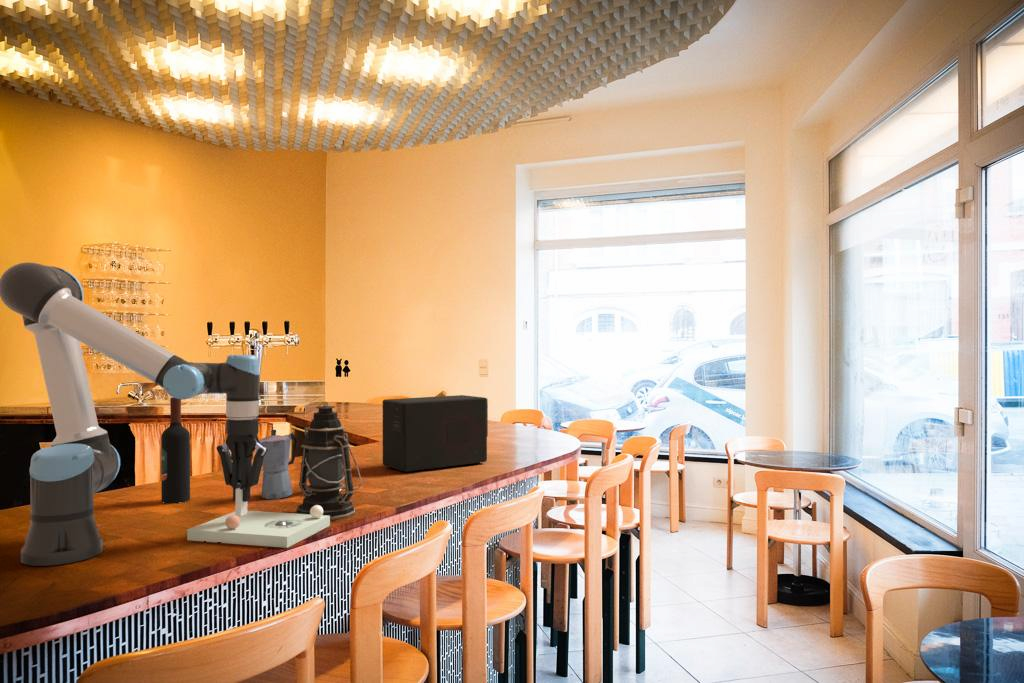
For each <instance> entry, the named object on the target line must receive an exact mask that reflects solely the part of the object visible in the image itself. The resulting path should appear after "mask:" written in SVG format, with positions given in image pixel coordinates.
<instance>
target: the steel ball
mask: <svg viewBox="0 0 1024 683" xmlns="http://www.w3.org/2000/svg"><path fill="white" fill-rule="evenodd" d="M275 526H288V525H287V523H286V522H284V521H278V522H277V523H276V524H275Z"/></svg>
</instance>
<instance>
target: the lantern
mask: <svg viewBox="0 0 1024 683" xmlns="http://www.w3.org/2000/svg"><path fill="white" fill-rule="evenodd" d="M335 408H336V406H334V405H329V403H328V402H327V401H325V402H324V403H323V405H320V406H316V407H315V409H318V411H317V412H313V419H312V420H311V422H310V424H309V426H307V427H304V429H303V430H304V437H305V438H304V439H303V441H302V445H300V448H302V456H301V462H300V465H301V466H300V474H299V483H298V486H299V488H300V490H301V492H302V495H303V499H302V503H301V504H299V505H297V507H296V513H295V514H310V510H311V508H312V507H313V506H315V505H319V506H321V507H322V508H323V515H326V516H330V521H336V520H341V519H346V518H348V517H351V516H353V515H355V514H356V508H355V503H354V502H352V501H350V500H351V498H352V497H353V494H354V493H355V491H357V490H358V491H359V489H361V487H362V485H363V481H362V476H361V474H360V469H359V467H358V464H357V462H356V459H355V456H354V455H353V451H352V449H351V443H349V438H348V437H349V436H348V434H347V433H344V430H345V429H346V430H347V429H348V427H346V426H343V425H342V424H341V420H340V419H339V418H338V412H337V411H333V409H335ZM350 455H351V457H352V460H353V462H354V466H356V470H357V473H358V476H359V477H358V478H359V481H360V484H359V485H358V487H357V488H354V484H353V482H354V481H353V475H352V466H351V458H350ZM342 481H344V483H341V482H342ZM308 484H309V485H308ZM340 489H342V490H343V489H344V490H345V491H344V492H345V493H344V494H343V493H341V492H340V491H339V490H340Z"/></svg>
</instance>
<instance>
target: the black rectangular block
mask: <svg viewBox="0 0 1024 683" xmlns="http://www.w3.org/2000/svg"><path fill="white" fill-rule="evenodd" d="M488 400H489V399H488V397H487V398H486V397H483V396H473V395H463V394H460V395H458V394H457V395H445V396H444V395H440V396H425V397H422V396H421V397H407V398H406V397H405V398H391V399H390V398H389V399H388V398H387V399H383V400H382V465H383V466H385V467H387V468H388V467H389V468H390V469H395V470H399V471H402V472H405V474H412V473H413V471H422V470H431V469H438V468H446V467H453V466H462V465H470V464H472V465H480V464H481V463H486V462H488V461H487V460H488V444H487V443H488V433H489V432H488V431H489V429H488V425H489V422H488V421H489V420H488V419H489V417H488V415H489V414H488V411H489V410H488V408H489V407H488V405H489V404H488Z"/></svg>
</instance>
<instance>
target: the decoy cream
mask: <svg viewBox="0 0 1024 683" xmlns="http://www.w3.org/2000/svg"><path fill="white" fill-rule="evenodd" d="M310 514H311V516H312V517H313V518H320V517H321V516H322V515H323V508H322V507H321V506H319V505H315V506H313V507H312V508H311V510H310Z"/></svg>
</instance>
